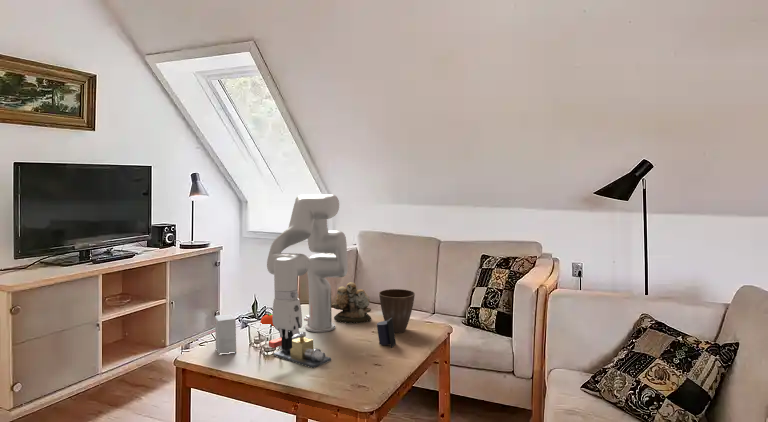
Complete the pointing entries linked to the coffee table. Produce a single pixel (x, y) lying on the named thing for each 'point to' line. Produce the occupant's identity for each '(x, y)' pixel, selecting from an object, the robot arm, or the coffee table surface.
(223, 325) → the small box
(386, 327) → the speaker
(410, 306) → the plant pot
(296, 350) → the valve body
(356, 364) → the coffee table surface
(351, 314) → the owl figurine
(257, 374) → the coffee table surface
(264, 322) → the clementine
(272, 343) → the valve lever
